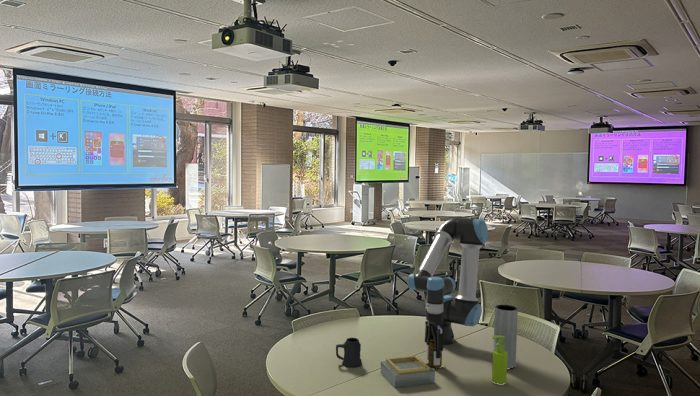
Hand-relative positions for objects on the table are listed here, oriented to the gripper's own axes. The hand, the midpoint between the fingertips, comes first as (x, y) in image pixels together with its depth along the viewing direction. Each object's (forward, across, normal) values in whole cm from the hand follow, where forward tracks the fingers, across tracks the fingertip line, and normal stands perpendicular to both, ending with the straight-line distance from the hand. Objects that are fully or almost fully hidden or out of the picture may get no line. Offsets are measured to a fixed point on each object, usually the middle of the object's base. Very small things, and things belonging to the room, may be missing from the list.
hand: (433, 361), depth 239 cm
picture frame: (+2, +7, -17) cm, 19 cm away
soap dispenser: (+2, +24, +18) cm, 30 cm away
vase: (+2, +8, +32) cm, 33 cm away
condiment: (+2, 0, 0) cm, 2 cm away
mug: (+2, -13, -36) cm, 38 cm away
